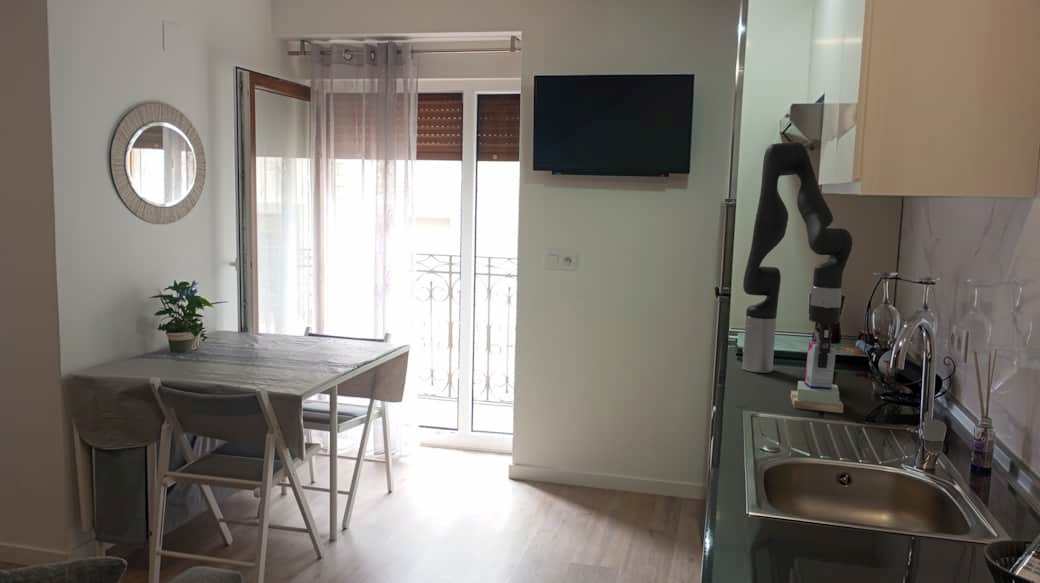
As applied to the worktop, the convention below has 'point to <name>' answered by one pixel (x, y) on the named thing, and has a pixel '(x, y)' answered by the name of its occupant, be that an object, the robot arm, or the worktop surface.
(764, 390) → the worktop surface
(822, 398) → the sage slab
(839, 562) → the worktop surface
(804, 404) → the birch slab
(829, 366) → the supplement box
